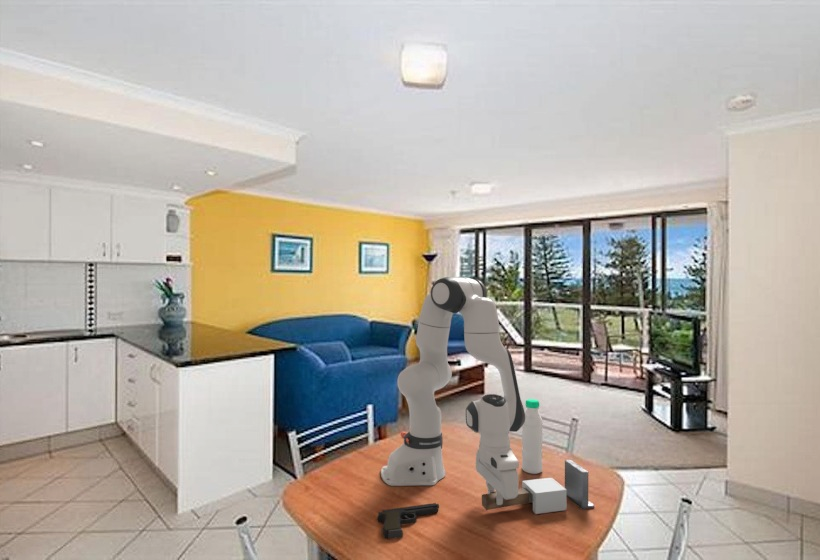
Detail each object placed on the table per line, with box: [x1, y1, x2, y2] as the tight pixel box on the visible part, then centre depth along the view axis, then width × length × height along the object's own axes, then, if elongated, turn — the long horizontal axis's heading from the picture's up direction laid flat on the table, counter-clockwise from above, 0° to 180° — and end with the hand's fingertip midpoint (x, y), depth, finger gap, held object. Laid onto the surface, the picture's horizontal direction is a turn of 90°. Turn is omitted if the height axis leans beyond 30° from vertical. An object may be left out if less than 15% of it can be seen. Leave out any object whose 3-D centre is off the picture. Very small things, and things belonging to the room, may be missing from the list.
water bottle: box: [521, 398, 544, 475], centre depth 155 cm, size 7×7×25 cm
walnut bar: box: [481, 488, 531, 511], centre depth 127 cm, size 14×3×3 cm, turn 106°
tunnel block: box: [521, 477, 567, 515], centre depth 130 cm, size 10×8×6 cm
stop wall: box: [564, 459, 595, 511], centre depth 133 cm, size 4×9×11 cm, turn 14°
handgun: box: [376, 502, 440, 540], centre depth 121 cm, size 3×19×12 cm
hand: (495, 500), depth 126 cm, fingers closed on walnut bar, 3 cm apart
